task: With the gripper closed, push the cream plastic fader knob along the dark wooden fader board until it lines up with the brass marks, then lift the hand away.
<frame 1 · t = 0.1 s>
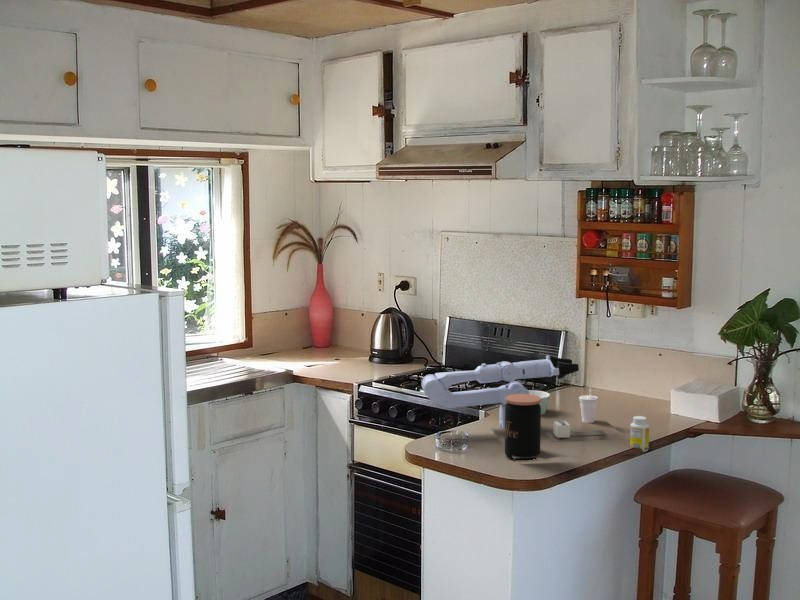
hand: (575, 365, 302), 22 cm above the worktop, tool horizontal, fingers open, 7 cm apart
fader board: (578, 440, 291), on the worktop
food container: (532, 412, 327), on the worktop
supplement bottle: (639, 450, 281), on the worktop
smoothie: (588, 426, 309), on the worktop
fader knob: (561, 428, 290), point 4 cm above the worktop, slide at 0.0 cm
coffee jar: (522, 457, 275), on the worktop
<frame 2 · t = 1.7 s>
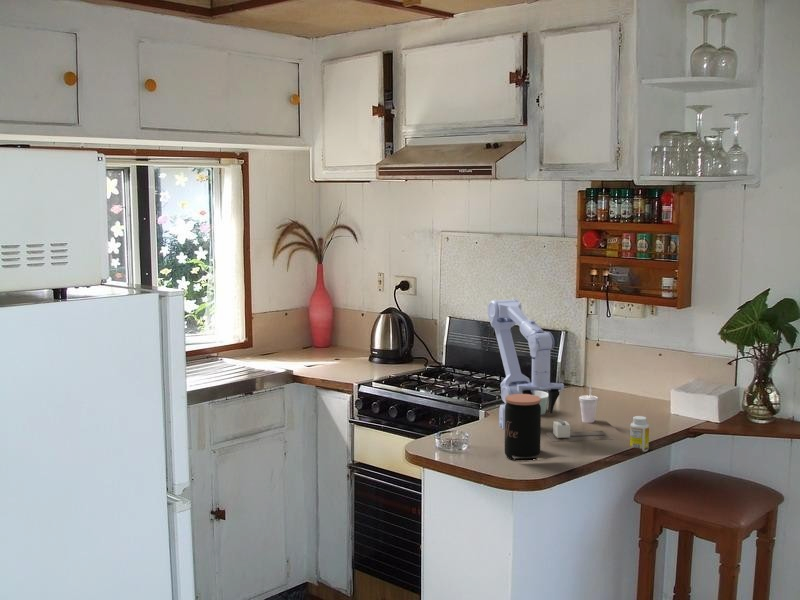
hand: (540, 413, 289), 9 cm above the worktop, tool pointing down, fingers open, 6 cm apart
nothing on the worktop moved.
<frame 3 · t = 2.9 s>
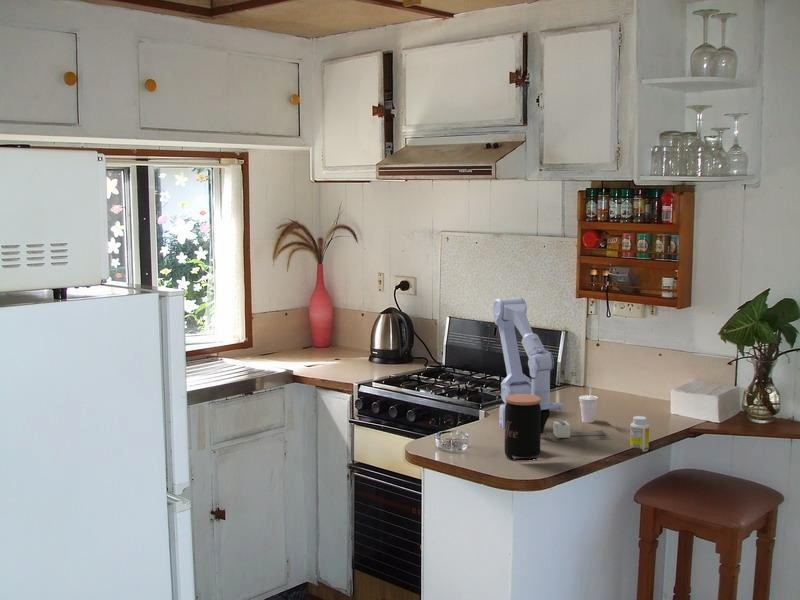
hand: (540, 432, 289), 3 cm above the worktop, tool pointing down, fingers closed
nothing on the worktop moved.
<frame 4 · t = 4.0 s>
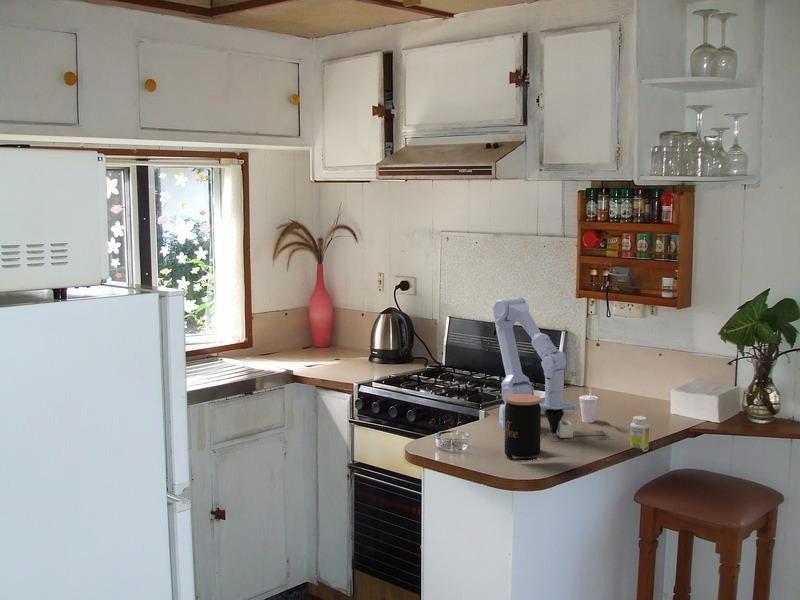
hand: (553, 432, 290), 3 cm above the worktop, tool pointing down, fingers closed
fader knob: (564, 428, 290), point 4 cm above the worktop, slide at 0.9 cm, touching gripper
everything else where it was.
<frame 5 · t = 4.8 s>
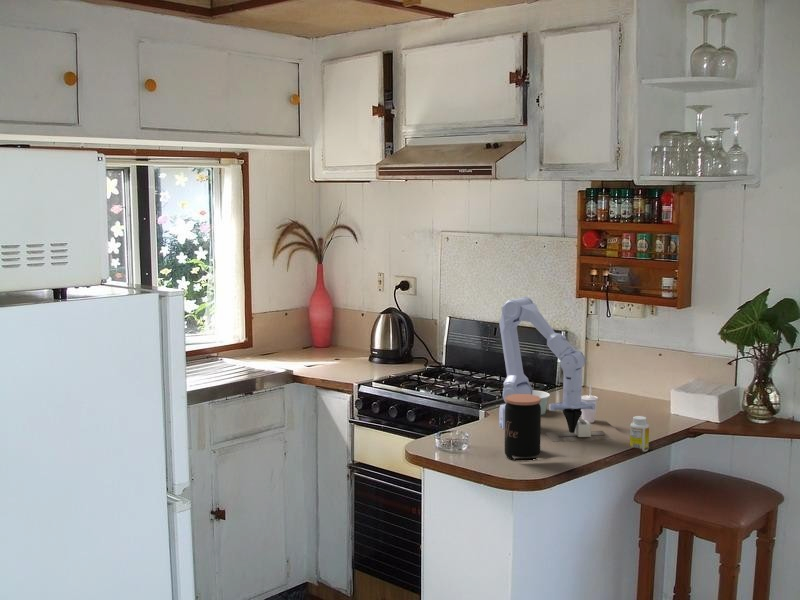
hand: (571, 431, 290), 3 cm above the worktop, tool pointing down, fingers closed
fader knob: (582, 427, 291), point 4 cm above the worktop, slide at 6.8 cm, touching gripper
everything else where it was.
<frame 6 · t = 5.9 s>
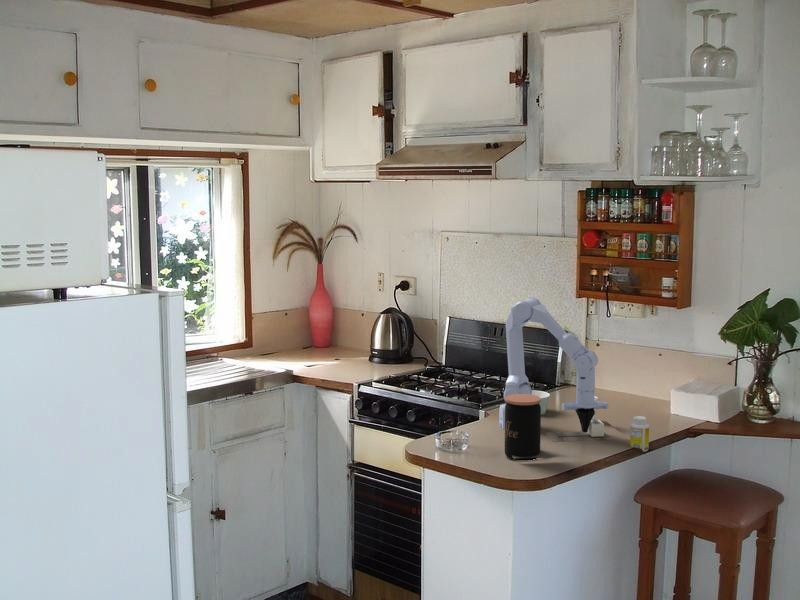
hand: (584, 431, 291), 3 cm above the worktop, tool pointing down, fingers closed
fader knob: (595, 427, 291), point 4 cm above the worktop, slide at 11.0 cm, touching gripper
everything else where it was.
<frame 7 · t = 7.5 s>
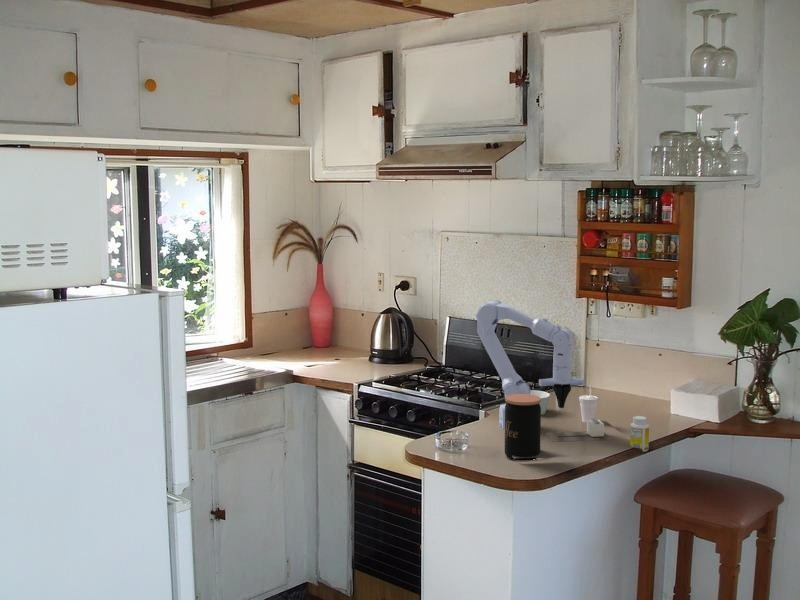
hand: (560, 407, 296), 9 cm above the worktop, tool pointing down, fingers closed
fader knob: (595, 427, 291), point 4 cm above the worktop, slide at 11.0 cm
everything else where it was.
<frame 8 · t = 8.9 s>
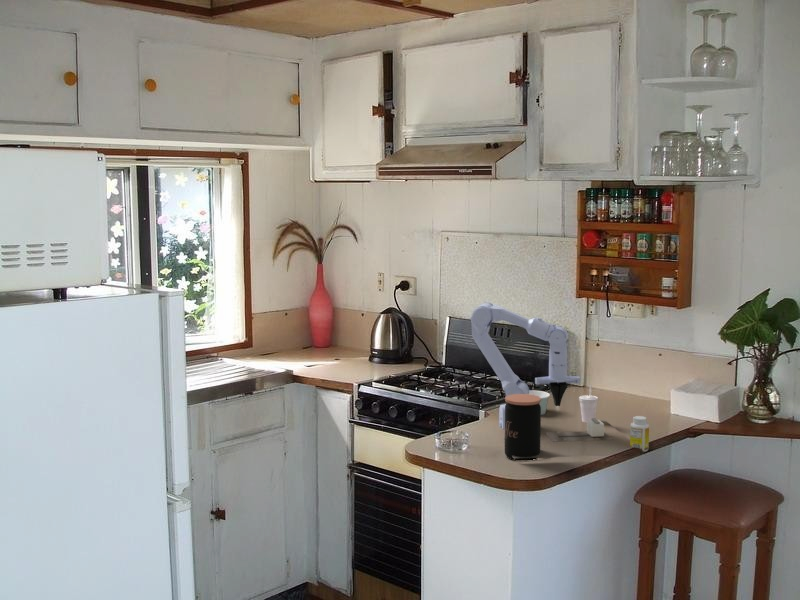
hand: (557, 405, 298), 9 cm above the worktop, tool pointing down, fingers closed
nothing on the worktop moved.
at the end: fader knob slide at 11.0 cm; smoothie moved 0.2 cm from its start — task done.
